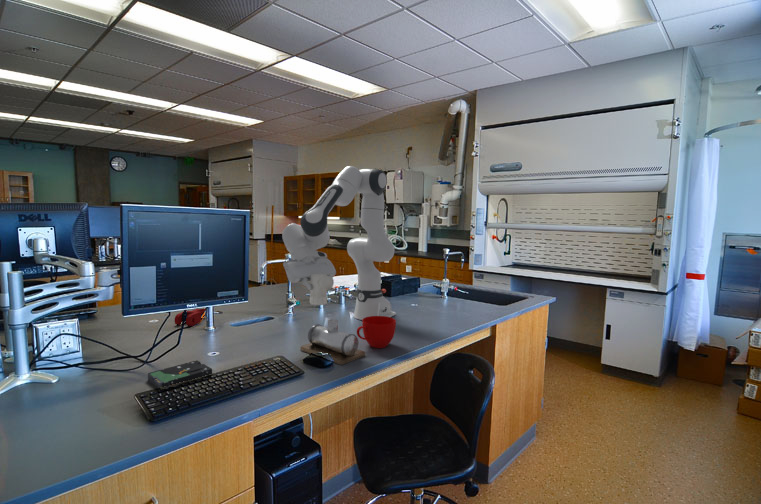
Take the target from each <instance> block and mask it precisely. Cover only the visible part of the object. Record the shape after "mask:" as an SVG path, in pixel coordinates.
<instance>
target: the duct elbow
mask: <svg viewBox="0 0 761 504" xmlns="http://www.w3.org/2000/svg"><path fill="white" fill-rule="evenodd" d="M310 275H311V276H310V281H309V283H310V284H312V285H313V287H314V288H313V290H309V293H310V294H309V304H310V305H312V306H325V305H327V304H328V290H331V289H332V288H333V286H334V285H335V284H334V280H335V279H334V277H333V278H332V277H330V276H327V274H325V273H318V274H310Z"/></svg>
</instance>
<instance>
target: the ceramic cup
mask: <svg viewBox="0 0 761 504" xmlns="http://www.w3.org/2000/svg"><path fill="white" fill-rule="evenodd" d="M361 321H362V326H361V325H360V326H358V327H357V329H356V336H357V338H359V339H361V340H364V341H366V342H367V344H368V345H369V347H372V348H374V349H375V348H376V349H383V348H386V347H387V346H388V345H389V344H390V343H391V342H392V341H393V338H394V336H395V333H396V327H397V320H396V319H395V318H393V317H386V316H370V317H366V318H363V320H361ZM361 330H362V333H363V336H361V334H360V331H361Z"/></svg>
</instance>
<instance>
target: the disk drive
mask: <svg viewBox="0 0 761 504" xmlns="http://www.w3.org/2000/svg"><path fill="white" fill-rule="evenodd" d="M209 374H212V375H213V368H211V367H210V366H208V365H206V364H205V363H202V364H201V361H199V360H193V361H189V362H185V363H182V364H179V365H175V366H170V367H166V368H162V369H159V370H155V371H150V372H148V373H147V381H148V382H149V383H151V384H152V385H153V386H155V387H156V388H157V389H159V388H160V387H164V386H169V385H172V384H176V383H179V382H183V381H188V380H192V379H195V378H198V377H202V376H205V375H209Z"/></svg>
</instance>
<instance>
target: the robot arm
mask: <svg viewBox="0 0 761 504" xmlns="http://www.w3.org/2000/svg"><path fill="white" fill-rule="evenodd" d="M387 177H388V176H387V174H386V172H384V170H383V169H378V168H362V169H359V168H358V167H356V166H354V165H347V166H345V167H344V168H343V169H342V170H341V171H339V174H337V176H336V177H335V178H334V180H333V182H332V184H331V185H329V186H328V187H327V188H326V189H325V191H324V192H323V193H322V194H321V196H320V197H319V199H317V201H316V203H315V204H314V205H313V206H312V207H310V208H309V209H308V210H306V211H305V212H304V213H303V214H302V216H301V217H300V221H299V222H300V224H297V223H293V222H292V223H290V224H288V225H286V226H285V227H284V228H283V230H282V234H281V235H282V236H281V238H282V241H283V243H284V246H285V248H286V250H287V252H289V254H290V258H291V260H284V262H282V265H283V268H284V270H285V273H286V278H287V280H288V281H289V282H290V283H292V284H294V283H301V284H302V285H304V287H306V288H307V290H308V291H310V290H313V288H314V287H313V285H312V284H310V276H311V275H310V274H318V273H325V274H327V276H330V277H332V278H333V279H334V276H335V275H336V274H337V271H336V270H337V269H336V268H335V266H334V264H333V263H332V261H331V260H330V259H328V255H327V253H326V252H323V251H318V250H320V249H324V248H325V247H327V246H328V245H329V243H330V240H331V238H330V232H329V227H328V226H329V224H328V218H329V217H328V216H329V213H330V212H331V211H332V210H333V208H334V207H335V206H338V207H346V206H349V204H350V203H351V202H352V201H353V200H354V199H355V197H356V195H357V194H362V201H361V206H360V207H361V210H360V226H361V227H362V228H363V229H364V230H365V231H366V233H367V237H355V238H354V237H353V238H351V239H350V240H349V241H348V243H347V244H346V245H347V246H346V251H347V254H348V256H349V257H350V258H351V260H352V261H353V262H354V264H355V267H356V271H357V289H356V299H355V308H354V311H353V317H354V318H355V319H356V320H361V321H362V320H363V318H366V317H370V316H386V317H391V318H393V317H394V316H396V315H397V313H396V312H395V311H393V310H392V304H391V302H390V301H389V300H388V299H386V297H385V296H383V295H384V294H385V293H386V292H387V290H386V288H382V289H381V287H382V285H381V284H382V281H381V279H382V275H381V272H380V271H379V269H377V267H376V266H375V264H374V262H379V263H382V262H383V263H384V262H389V261H391V260H392V258H393V257H394V255H395V246H394V244H393V242H392V241H391V240H390V239H389V238H388V236H387V233H386V231H385V226H384V223H385V222H384V219H385V218H384V217H385V196H384V191H385V189H386V187H387V184H388V179H387Z"/></svg>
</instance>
